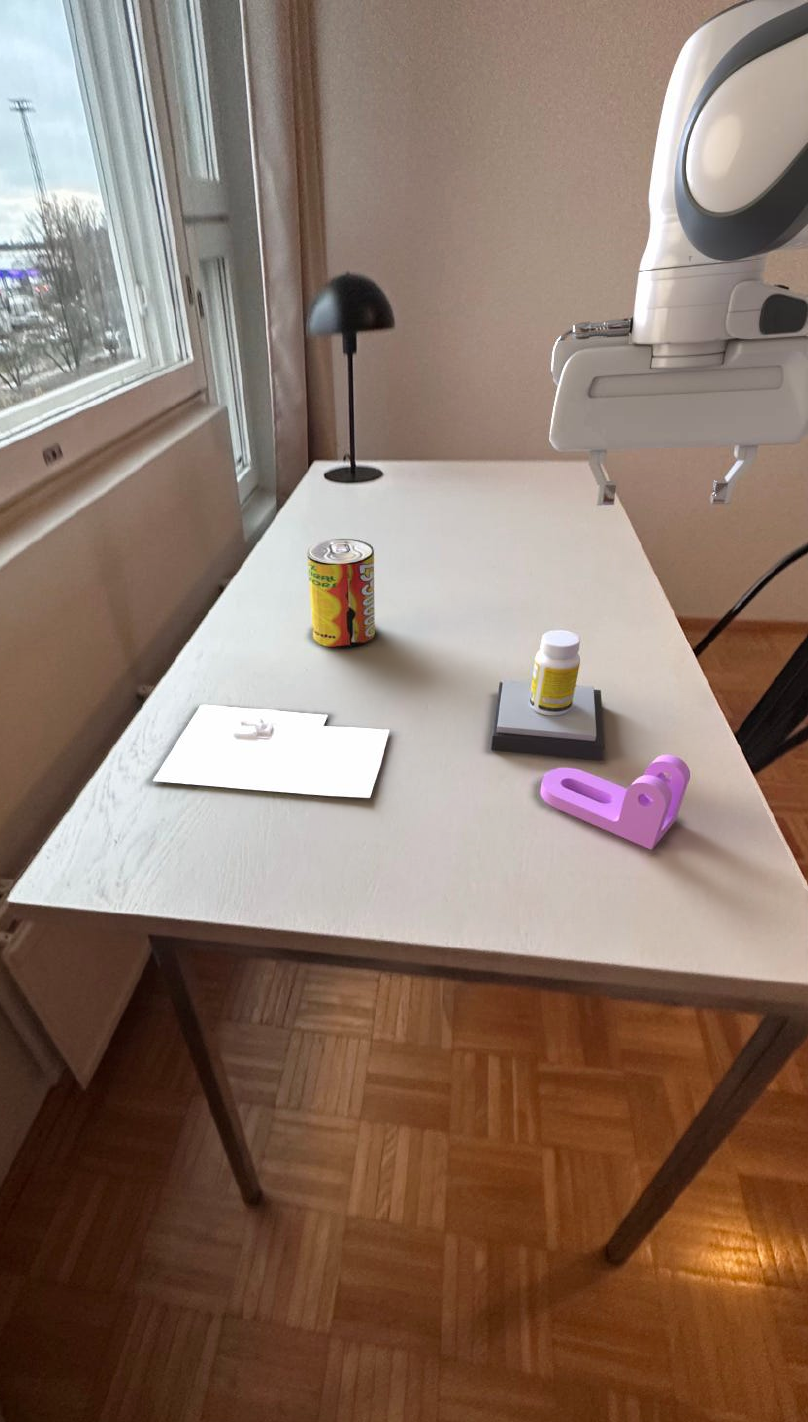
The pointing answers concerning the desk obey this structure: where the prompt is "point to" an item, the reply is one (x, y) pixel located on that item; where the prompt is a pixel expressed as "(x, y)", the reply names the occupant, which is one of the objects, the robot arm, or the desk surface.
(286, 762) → the paper
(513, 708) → the scale
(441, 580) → the desk surface
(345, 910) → the desk surface
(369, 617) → the beverage can
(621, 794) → the bracket
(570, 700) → the supplement bottle
